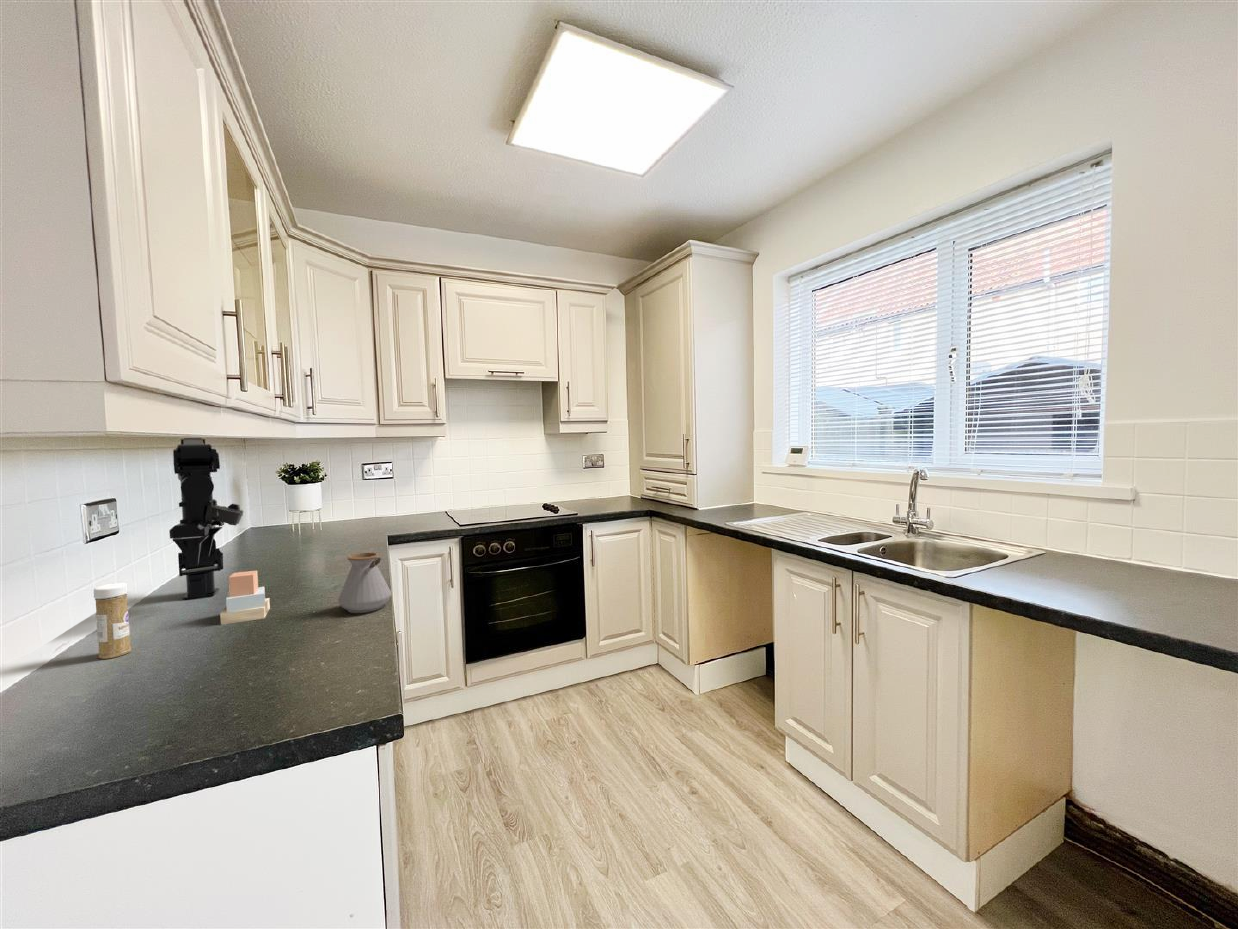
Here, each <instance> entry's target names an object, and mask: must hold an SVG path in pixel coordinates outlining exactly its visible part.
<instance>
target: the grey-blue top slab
mask: <svg viewBox="0 0 1238 929" xmlns="http://www.w3.org/2000/svg"><path fill="white" fill-rule="evenodd" d="M265 598H266V592H265V586H258V590H257V591H256V592H255V594H252V595H243V596H235V597H230V591H227V593H226V600H225V607H227V612H233V611H239V610H245V609H251V608H257V607H264V606H265Z"/></svg>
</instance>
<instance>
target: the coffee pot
mask: <svg viewBox="0 0 1238 929" xmlns="http://www.w3.org/2000/svg"><path fill="white" fill-rule="evenodd" d="M346 559H347V560H348V562H350V564H351V568H350V570H349V573H348V575H347V578H346V579H345V581H344V585H343V587H342V589H341V592H340V593H339V596H338V604H339V605H340V607H341V608H343V609H344V610H347V612H349V613H351V614H365V613H369V612H374V611H377V610H380V609H381V608H383V607H384V605H385V604H386V603H387V602H388V601H389V600H390V598H391V596H392V591H391V589H390V587H389V586H388V584H387V581H386V579H385V578H384V576H383V575H382V572H381V571H380V570H381V569H380V568H381V567H383V566H384V565H385V564H386V561H385V559H383V558H381V557H379V553H377V552H363V553H356V554H352V555H349V556H348V557H347V558H346ZM381 560H382V561H383V564H382V565H381V566H378V564H380V563H381Z"/></svg>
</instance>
